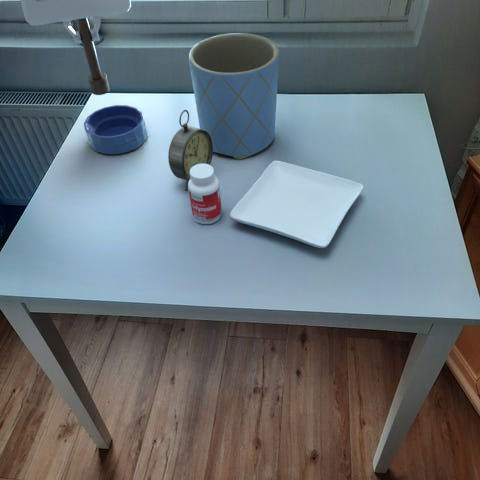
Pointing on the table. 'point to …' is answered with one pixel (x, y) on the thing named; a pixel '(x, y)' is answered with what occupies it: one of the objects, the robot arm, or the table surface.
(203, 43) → the planter
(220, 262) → the table surface
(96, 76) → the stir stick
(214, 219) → the pill bottle
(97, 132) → the bowl
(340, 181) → the salad plate
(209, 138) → the alarm clock
